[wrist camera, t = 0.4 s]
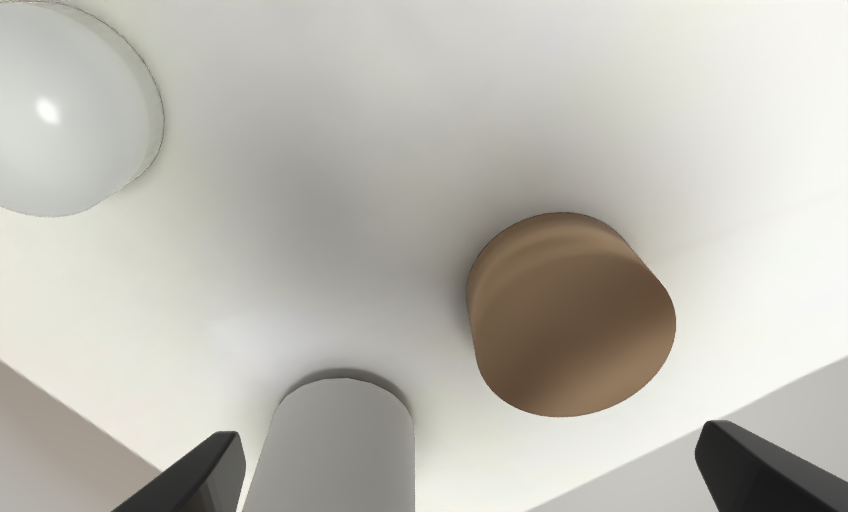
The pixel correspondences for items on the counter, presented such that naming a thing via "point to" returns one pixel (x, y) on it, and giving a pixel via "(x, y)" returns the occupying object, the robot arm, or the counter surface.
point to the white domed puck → (70, 110)
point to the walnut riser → (566, 316)
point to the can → (336, 452)
